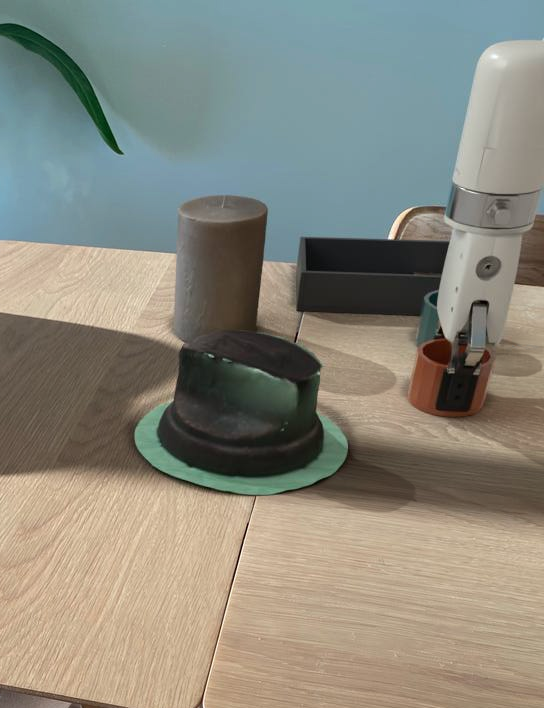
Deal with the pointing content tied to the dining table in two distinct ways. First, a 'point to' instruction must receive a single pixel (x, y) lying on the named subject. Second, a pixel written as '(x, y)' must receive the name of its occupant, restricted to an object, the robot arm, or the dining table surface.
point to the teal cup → (429, 319)
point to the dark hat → (244, 417)
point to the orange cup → (429, 374)
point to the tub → (367, 274)
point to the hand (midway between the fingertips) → (447, 390)
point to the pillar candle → (218, 264)
